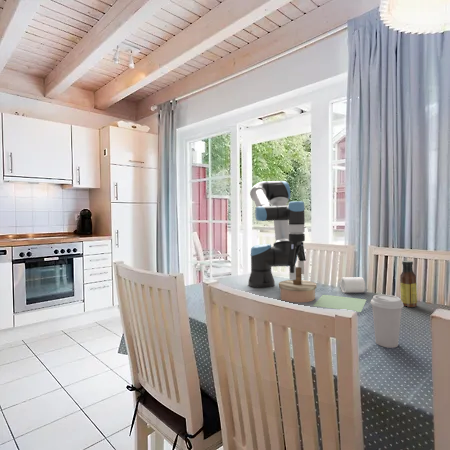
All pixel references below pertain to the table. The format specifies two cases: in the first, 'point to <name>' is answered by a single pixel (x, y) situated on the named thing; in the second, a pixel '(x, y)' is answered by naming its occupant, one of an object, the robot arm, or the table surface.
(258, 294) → the table surface
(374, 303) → the coffee cup
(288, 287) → the lid
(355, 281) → the mug
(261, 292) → the table surface
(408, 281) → the sauce bottle
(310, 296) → the bowl
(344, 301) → the mat
